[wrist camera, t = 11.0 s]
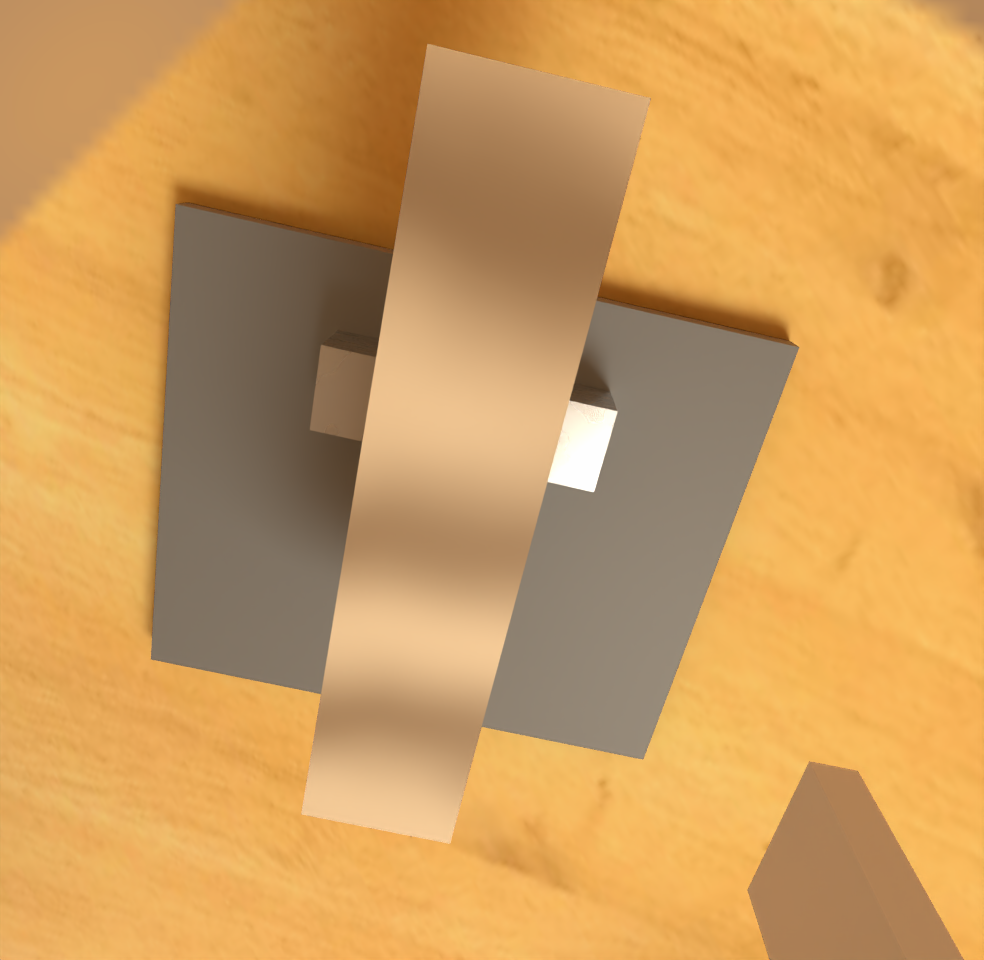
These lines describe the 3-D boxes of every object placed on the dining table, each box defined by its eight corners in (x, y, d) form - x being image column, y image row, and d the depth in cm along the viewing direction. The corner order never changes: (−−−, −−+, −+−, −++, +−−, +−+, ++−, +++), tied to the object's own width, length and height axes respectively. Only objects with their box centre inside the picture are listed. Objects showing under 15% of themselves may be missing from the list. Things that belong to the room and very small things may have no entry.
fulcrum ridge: (327, 408, 29) (284, 461, 23) (338, 329, 27) (295, 367, 22) (588, 465, 29) (601, 530, 24) (610, 390, 28) (628, 441, 23)
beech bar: (451, 71, 19) (427, 43, 15) (621, 113, 19) (650, 97, 15) (340, 702, 27) (301, 814, 22) (463, 727, 27) (450, 843, 22)
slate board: (161, 645, 34) (150, 659, 33) (187, 202, 27) (175, 203, 26) (640, 743, 35) (643, 759, 34) (790, 341, 28) (799, 347, 27)
